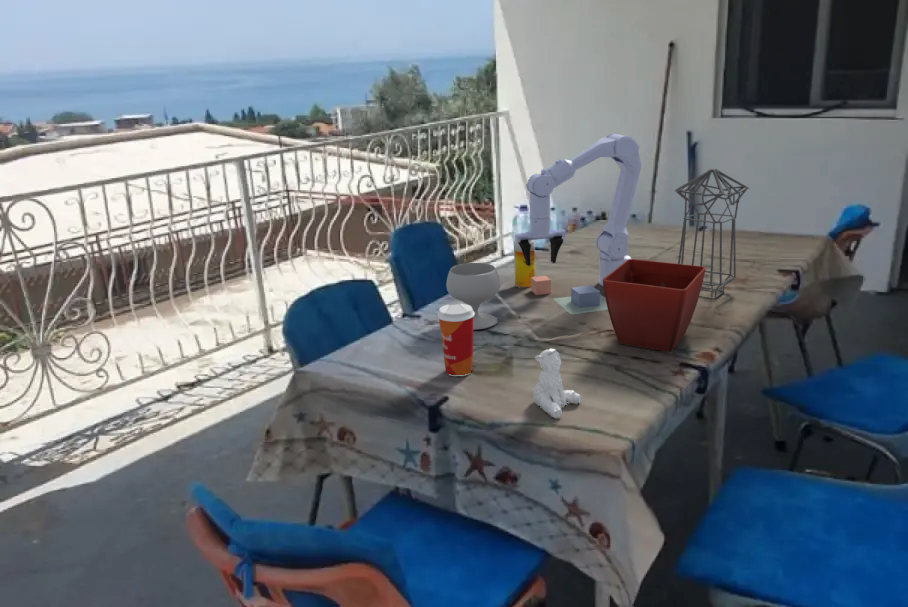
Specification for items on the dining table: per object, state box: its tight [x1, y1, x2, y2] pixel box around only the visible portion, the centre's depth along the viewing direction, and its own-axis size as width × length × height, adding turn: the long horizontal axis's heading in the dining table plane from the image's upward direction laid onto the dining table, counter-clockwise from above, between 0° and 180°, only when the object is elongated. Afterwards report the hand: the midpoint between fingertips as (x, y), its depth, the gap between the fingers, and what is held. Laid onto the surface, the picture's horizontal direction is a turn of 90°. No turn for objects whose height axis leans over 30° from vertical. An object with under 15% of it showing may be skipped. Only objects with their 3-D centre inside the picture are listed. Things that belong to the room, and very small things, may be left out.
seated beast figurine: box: [531, 348, 582, 419], centre depth 140 cm, size 10×9×12 cm
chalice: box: [445, 262, 501, 331], centre depth 186 cm, size 14×14×15 cm
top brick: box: [530, 275, 552, 296], centre depth 207 cm, size 4×4×5 cm
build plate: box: [552, 293, 608, 315], centre depth 196 cm, size 14×14×1 cm
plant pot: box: [602, 258, 707, 352], centre depth 169 cm, size 19×19×17 cm
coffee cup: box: [436, 303, 475, 375], centre depth 157 cm, size 8×8×15 cm
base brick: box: [570, 284, 601, 308], centre depth 196 cm, size 6×6×4 cm
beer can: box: [513, 240, 536, 289], centre depth 213 cm, size 6×6×15 cm
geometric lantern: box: [674, 168, 750, 300], centre depth 196 cm, size 16×16×35 cm
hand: (540, 263), depth 205 cm, fingers open, 7 cm apart
